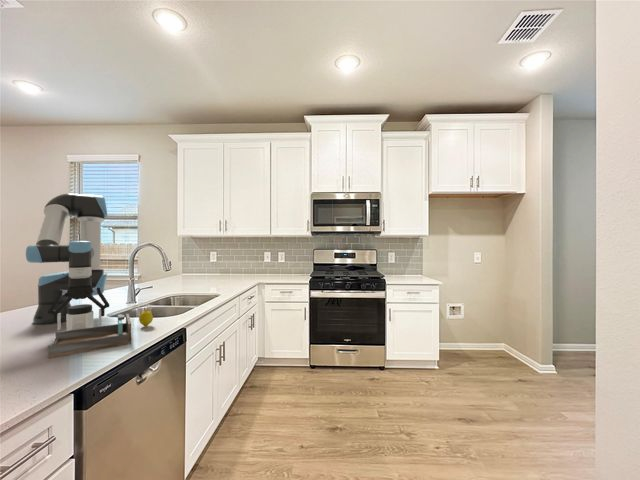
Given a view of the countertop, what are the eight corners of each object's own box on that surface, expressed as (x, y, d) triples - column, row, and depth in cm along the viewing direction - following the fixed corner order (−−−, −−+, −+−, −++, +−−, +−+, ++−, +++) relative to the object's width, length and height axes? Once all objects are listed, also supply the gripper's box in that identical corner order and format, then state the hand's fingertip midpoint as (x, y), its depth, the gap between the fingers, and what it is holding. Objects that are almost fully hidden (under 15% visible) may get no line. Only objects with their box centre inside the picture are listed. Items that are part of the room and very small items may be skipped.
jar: (64, 339, 119) (64, 309, 119) (68, 333, 126) (68, 305, 126) (92, 335, 124) (92, 307, 124) (94, 330, 131) (94, 303, 131)
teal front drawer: (55, 342, 115) (55, 322, 115) (128, 331, 129) (128, 313, 129) (48, 358, 100) (48, 335, 100) (131, 343, 115) (131, 323, 114)
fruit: (155, 325, 138) (155, 308, 138) (145, 328, 133) (145, 311, 133) (146, 324, 140) (146, 307, 140) (136, 327, 135) (136, 310, 134)
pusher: (117, 331, 126) (117, 312, 126) (123, 330, 127) (123, 311, 127) (118, 341, 113) (118, 320, 113) (124, 340, 114) (124, 320, 114)
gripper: (38, 280, 114) (38, 334, 114) (116, 276, 129) (116, 323, 129) (41, 278, 120) (41, 329, 121) (115, 274, 135) (115, 319, 135)
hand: (80, 326), depth 125 cm, fingers open, 13 cm apart
